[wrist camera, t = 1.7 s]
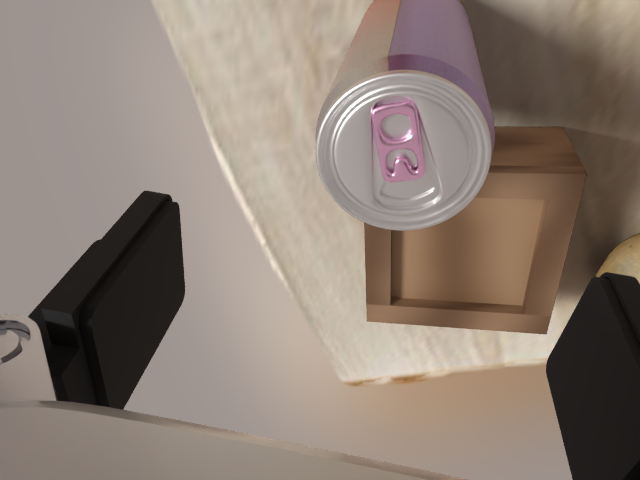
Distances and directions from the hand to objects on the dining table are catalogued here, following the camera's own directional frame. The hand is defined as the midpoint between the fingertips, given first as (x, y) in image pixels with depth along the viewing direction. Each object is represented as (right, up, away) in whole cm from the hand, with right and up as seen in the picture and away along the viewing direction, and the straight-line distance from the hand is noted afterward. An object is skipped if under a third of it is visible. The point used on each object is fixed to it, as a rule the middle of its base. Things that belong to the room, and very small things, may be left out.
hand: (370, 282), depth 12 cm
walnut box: (+8, +3, +22) cm, 24 cm away
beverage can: (+4, +12, +17) cm, 21 cm away
